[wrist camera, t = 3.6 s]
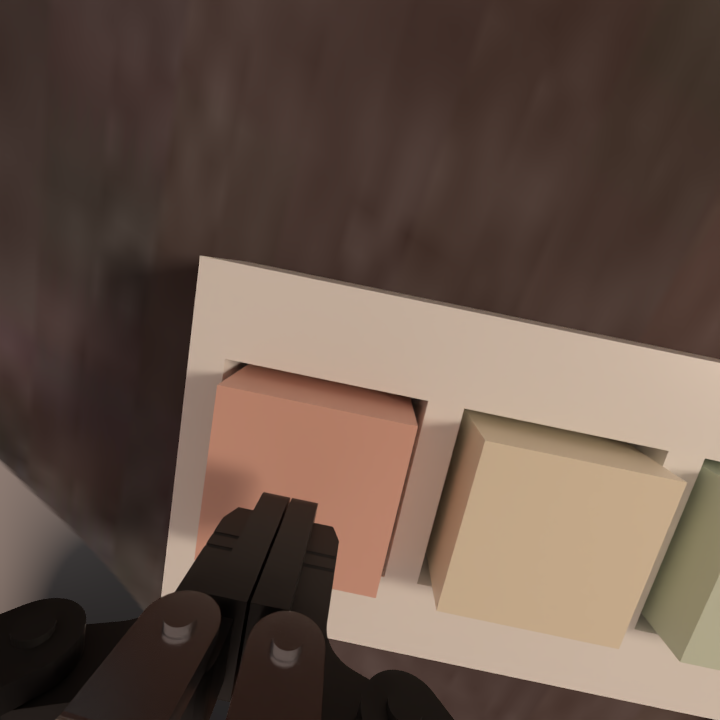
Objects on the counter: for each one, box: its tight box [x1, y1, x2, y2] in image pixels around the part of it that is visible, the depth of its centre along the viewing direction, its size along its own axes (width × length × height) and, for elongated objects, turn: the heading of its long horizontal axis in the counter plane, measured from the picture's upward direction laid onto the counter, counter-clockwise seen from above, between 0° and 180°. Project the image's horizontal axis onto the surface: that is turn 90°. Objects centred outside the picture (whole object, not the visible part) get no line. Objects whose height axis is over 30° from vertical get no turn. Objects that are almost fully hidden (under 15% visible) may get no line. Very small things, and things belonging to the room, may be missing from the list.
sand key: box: [426, 409, 687, 649], centre depth 14 cm, size 6×6×3 cm
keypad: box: [161, 256, 720, 720], centre depth 16 cm, size 25×16×5 cm, turn 79°
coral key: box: [194, 364, 418, 598], centre depth 14 cm, size 6×6×3 cm
